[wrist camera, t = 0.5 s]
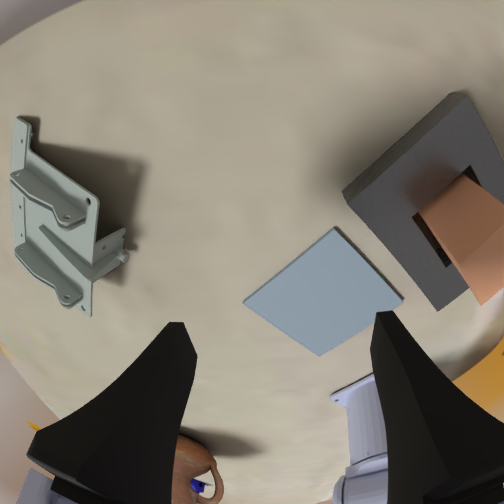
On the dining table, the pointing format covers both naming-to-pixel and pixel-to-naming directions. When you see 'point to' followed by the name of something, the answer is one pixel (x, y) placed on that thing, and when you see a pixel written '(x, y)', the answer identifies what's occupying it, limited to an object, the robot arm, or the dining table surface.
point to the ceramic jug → (193, 472)
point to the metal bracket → (58, 227)
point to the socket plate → (426, 189)
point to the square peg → (470, 234)
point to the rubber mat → (324, 295)
